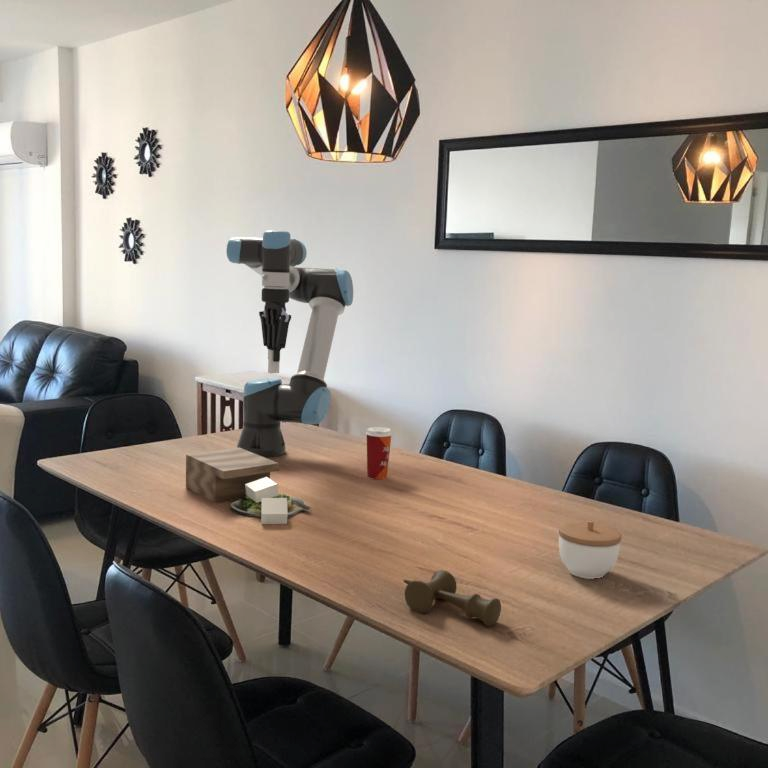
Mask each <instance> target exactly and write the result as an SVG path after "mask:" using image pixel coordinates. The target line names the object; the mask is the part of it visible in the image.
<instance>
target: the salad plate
mask: <svg viewBox="0 0 768 768" xmlns="http://www.w3.org/2000/svg"><path fill="white" fill-rule="evenodd" d="M272 498H287V513H288V515H287V518H289V517H293V516H295V515H296V514H298V513H301V512H302V511H307V510H308V511H309V510H312V507H311V506H309V505H307V504H306V502H305V500H304V499H302V498H300V497H294V496H293V497H292V496H290V495H287V494H285V493H282V494H281V493H279V495H278V496H275V497H272ZM261 503H262V501H261V502H258V503H256V502H255V501H254V500H252V499H251V498H250V497H248V496H247V494H246V490H245V493H244V497H243V498H239V499H236V500H235V501H233V502H231V503H230V504H229V508H230V510H231V511H232V512H233V513H235V514H237V515H241V516H247V517H253V516H254V518H260V519H261ZM300 511H301V512H300ZM292 515H293V516H292Z"/></svg>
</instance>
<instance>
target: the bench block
mask: <svg viewBox="0 0 768 768" xmlns="http://www.w3.org/2000/svg"><path fill="white" fill-rule="evenodd" d="M279 464H280V463H279V462H277V461H273V460H272V459H269V458H268V457H262V456H259V455H257V454H254V453H252V452H249V451H247V450H244V449H242V448H237V447H231V448H226V449H218V450H210V451H202V452H201V451H200V452H195V453H194V452H193V453H186V454H185V488H186V487H187V488H186V489H188V488H189V489H188V490H190V491H191V492H194V493H196V494H198V495H199V496H201V495H202V497H203V496H204V497H203V498H205V497H206V499H207V498H208V499H207V500H209V499H210V500H209V501H211V500H212V501H211V502H213V503H215V502H216V503H221V501H222V502H227V501H232V500H240V499H242V498H243V497H244V493H245V490H246V488H245V484H247V483H250V482H253V481H256V480H259V479H262V478H265V477H268V478H269V479H271V473H272V472H273V473H274V472H279V467H280V466H279Z"/></svg>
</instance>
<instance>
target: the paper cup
mask: <svg viewBox="0 0 768 768" xmlns="http://www.w3.org/2000/svg"><path fill="white" fill-rule="evenodd" d="M365 435H366V465H367V466H366V467H367V468H366V471H367V478H369V477H370V478H369V479H371V478H373V479H372V480H384V479H383V478H385V479H387V478H386V477H388V473H389V471H388V470H389V462H390V461H389V460H390V452H391V450H390V449H391V440H392V435H393V432H392V430H391V428H389V427H383V426H371V427H368V428H367V429H366V431H365Z"/></svg>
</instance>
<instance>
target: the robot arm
mask: <svg viewBox="0 0 768 768" xmlns="http://www.w3.org/2000/svg"><path fill="white" fill-rule="evenodd" d="M307 251H308V250H307V248H306V246H305V244H304V243H303V242H302V241H300V240H299V239H296V238H291V233H290V232H289V231H284V230H282V231H281V230H265V231H264V232H263V235H262V237H245V236H240V237H239V236H236V237H235V236H233V237H231V238H230V239H229V240H228V242H227V244H226V257H227V259H228V261H229V262H230V263H231V264H237V265H240V264H243V265H245V266H247V267H248V268H250V269H251V270H253V271H254V272H255V273H257V274H259V276H261V285H262V288H261V301H262V302H263V303H265V304H264V308H263V309H264V310H263V311H259V312H258V315H259V318H260V319H259V320H260V322H261V323H260V325H261V333H262V343H263V346H264V347H266V349H267V352H268V353H267V360H268V364H267V367H268V368H267V373H269V374H279V373H280V360H281V350H282V349H285V348H286V345H287V339H288V333H289V326H290V322H291V320H292V315H291V314H288V313H287V312H286V311H287V307H286V304H287V303H290V302H289V301H290V299H291V300H292V301H293V300H294V301H296V302H298V303H303V304H308V306H309V307H310V309H311V314H310V318H309V322H308V326H307V329H306V330H307V331H306V334H305V339H304V342H303V347H302V351H301V355H300V359H299V364H298V368H297V373H295V374H293V375H292V376H290V379H289V383H288V384H287V383H283V381H282V378H278V377H268V378H267V377H266V378H260V379H259V378H257V379H252V380H248V381H247V382H245V384H244V386H243V396H242V397H243V398H242V399H243V401H242V405H243V407H242V414H243V415H242V417H243V418H242V429H241V433H240V436H239V437H238V441H237V445H236V448H242V449H244V450H247V451H249V452H252V453H254V454H257V455H259V456H262V457H264V458H271V457H277V456H282V455H283V454H285V453H286V442H285V439H284V436H283V431H282V428H281V422H285V423H295V424H303V425H318V424H320V423H322V422H323V421H324V419H325V418H326V417H327V415H328V412H329V409H330V406H331V396H332V395H331V390H330V389H329V388H328V384H327V382H326V381H325V375H326V371H327V366H328V363H329V358H330V353H331V348H332V345H333V339H334V335H335V331H336V327H337V322H338V318H339V316H340V315H342V314H343V313H344V312H345V307H349V306H351V305H352V304H353V301H354V285H353V279H352V276H351V274H350V272H349V271H348V270H346V269H338V268H335V269H334V268H333V269H332V268H318V267H317V268H314V267H313V268H312V267H297V266H299V265H301V264H302V263H304V262H305V260H306V258H307V253H308V252H307Z"/></svg>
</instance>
